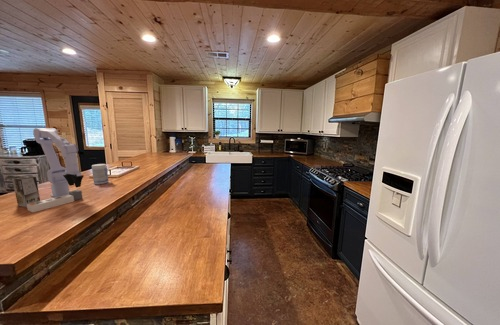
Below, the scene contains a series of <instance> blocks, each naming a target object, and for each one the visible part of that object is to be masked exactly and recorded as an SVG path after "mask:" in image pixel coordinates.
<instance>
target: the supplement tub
mask: <svg viewBox="0 0 500 325" xmlns="http://www.w3.org/2000/svg"><path fill="white" fill-rule="evenodd" d="M107 166H108V165H107V164H106V163H97V164H92V165H91V171H92V172H91V173H92V178H93V180H92V181H93V184H95V185H104V184H107V183H109V181H110V180H109V175H108V167H107Z"/></svg>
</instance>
